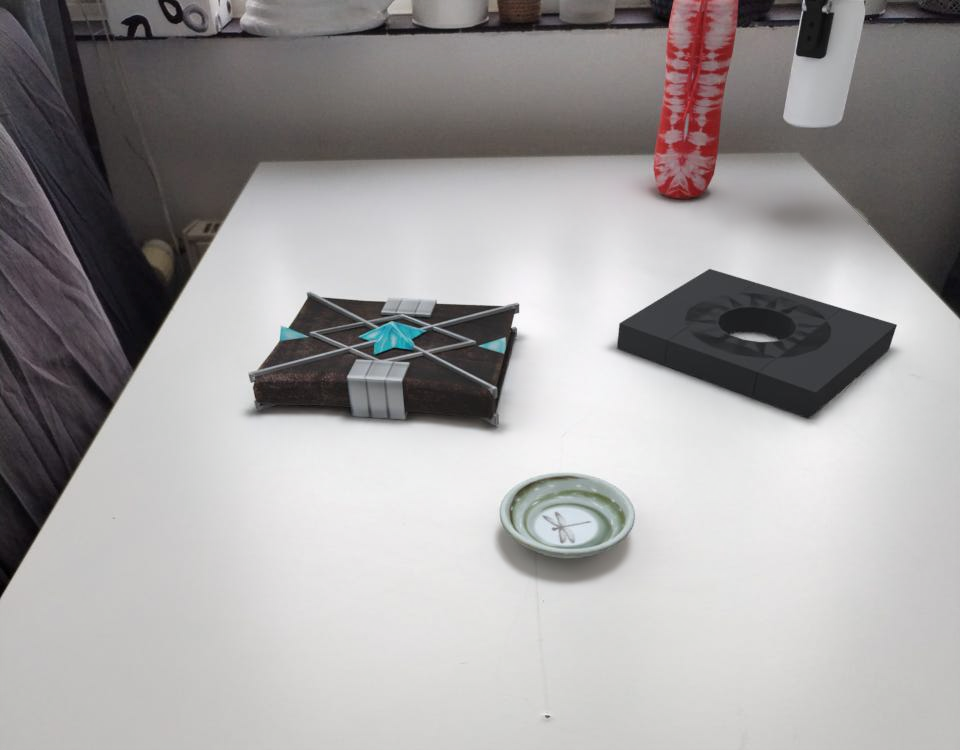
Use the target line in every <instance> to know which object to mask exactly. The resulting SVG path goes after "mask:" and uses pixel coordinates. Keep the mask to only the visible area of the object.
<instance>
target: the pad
mask: <svg viewBox="0 0 960 750" xmlns="http://www.w3.org/2000/svg"><path fill="white" fill-rule="evenodd" d="M896 329H897V324H896V323H892V322H889V321H886V320H883V319H878V318H876V317H873V316H869V315H867V314H862V313H860V312H856V311H852V310H849V309H846V308H843V307H839V306H836V305H832V304H829V303H825V302H823V301H818V300H816V299H812V298H809V297H806V296H803V295H799V294H796V293H793V292H789V291H786V290H782V289H779V288H775V287H772V286H769V285H766V284H762V283H758V282H755V281H751V280H749V279H745V278H743V277H739V276H736V275H732V274H729V273H725V272H722V271H718V270H716V269H712V268H708V269H707V270H705V271H703V272H702V273H700V274H698V275H697V276H695V277H693V278H692V279H690V280H689V281H687V282H685V283H684V284H682V285H680V286H679V287H676V288H675V289H674V290H672V291H670V292H669V293H667V294H665V295H664V296H662V297H660V298H658V299H657V300H655V301H654V302H652V303H651V304H649V305H647V306H646V307H644V308H642V309H641V310H639V311H637V312H636V313H634V314H633V315H631V316H629V317H627V318H626V319H624V320H622V321H621V322H619V323H618V334H617V345H616V346H617V347H616V348H617V349H619V350H622V351H625V352H627V353H630V354H632V355H635V356H638V357H641V358H644V359H646V360H649V361H652V362H654V363H657V364H659V365H663V366H665V367H668V368H671V369H673V370H676V371H678V372H682V373H684V374H687V375H690V376H692V377H695V378H698V379H701V380H703V381H707V382H709V383H712V384H715V385H717V386H719V387H722V388H725V389H727V390H730V391H734V392H736V393H738V394H742V395H744V396H746V397H750V398H753V399H756V401H757V400H758V401H761V402H764V403H766V404H768V405H771V406H773V407H775V408H779V409H782V410H785V411H788V412H790V413H793V414H795V415H799V416H801V417H804V418H807V419H810V418H811V417H813V416H814V415H815V414H816V413H817V412H818V411H820V410H821V409H822V408H823V407H825V405H826V404H828V403H829V402H830V401H831V400H832V399H833V398H834V397H836V396H837V395H838V394H840V393H841V392H842V391H843V390H844V389H845V388H846V387H847V386H848V385H850V384H851V383H852V382H853V381H855V380H856V379H857V378H858V377H859V376H860V375H861V374H862V373H864V371H866V370H867V369H868V368H869V367H871V366H872V365H873V364H874V363H875V362H876V361H878V360H879V359H880V358H881V357H883V356H884V355H885V354H886V353H887V352H888V351H889V350H890V348H891V345H892V342H893V338H894V335H895V332H896ZM744 332H746V333H747V332H751V333H758V334H765V335H768V336H771V337H774V338H777V339H778V340H775V341H774V340H773V341H758V340H757V341H756V340H749V339H743V338H741V337H738V336H734V335H731V334H733V333H744Z"/></svg>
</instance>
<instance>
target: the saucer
mask: <svg viewBox="0 0 960 750" xmlns="http://www.w3.org/2000/svg"><path fill="white" fill-rule="evenodd" d="M635 512H636V511H635V508H634V505H633V503H632V501H631V500H630V498H629V497H628V496H627V495H626V494H625V493H624V491H622V490H621V489H620V488H619V487H617V486H616V485H614V484H612V483H611V482H609V481H606V480H604V479H601V478H600V477H599V478H598V477H596V476H593V475H588V474H583V473H579V472H578V473H577V472H552V473H551V472H550V473H545V474H540V475H535V476H533V477H530V478H527V479H526V480H523V481H522V482H519V483H517V484H516V485H514V486H513V487H512V488H511V489H510V490H509V491H508V492H507V493H506V494H505V496H504V497H503V498H502V500H501V503H500V507H499V520H500V523H501V526H502V528H503V529H504V531H505V532H506V533H507V534H508V535H509V536H510V537H511V538H512V539H513V540H514V541H516V542H517V543H518V544H520V545H521V546H524V547H525V548H527V549H530V550H531V551H533V552H535V553H538V554H541V555H544V556H546V557H547V556H548V557H552V558H557V559H558V558H559V559H581V558H587V557H591V556H595V555H597V554H600V553H603V552H606V551H608V550H611V549H612V548H614V547H616V546H618V545H619V544H620V543H621V542H623V541H624V540H625V539H626V538H627V537H628V536H629V534H630V533H631V531H632V530H633V528H634V524H635V520H636V513H635Z"/></svg>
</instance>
